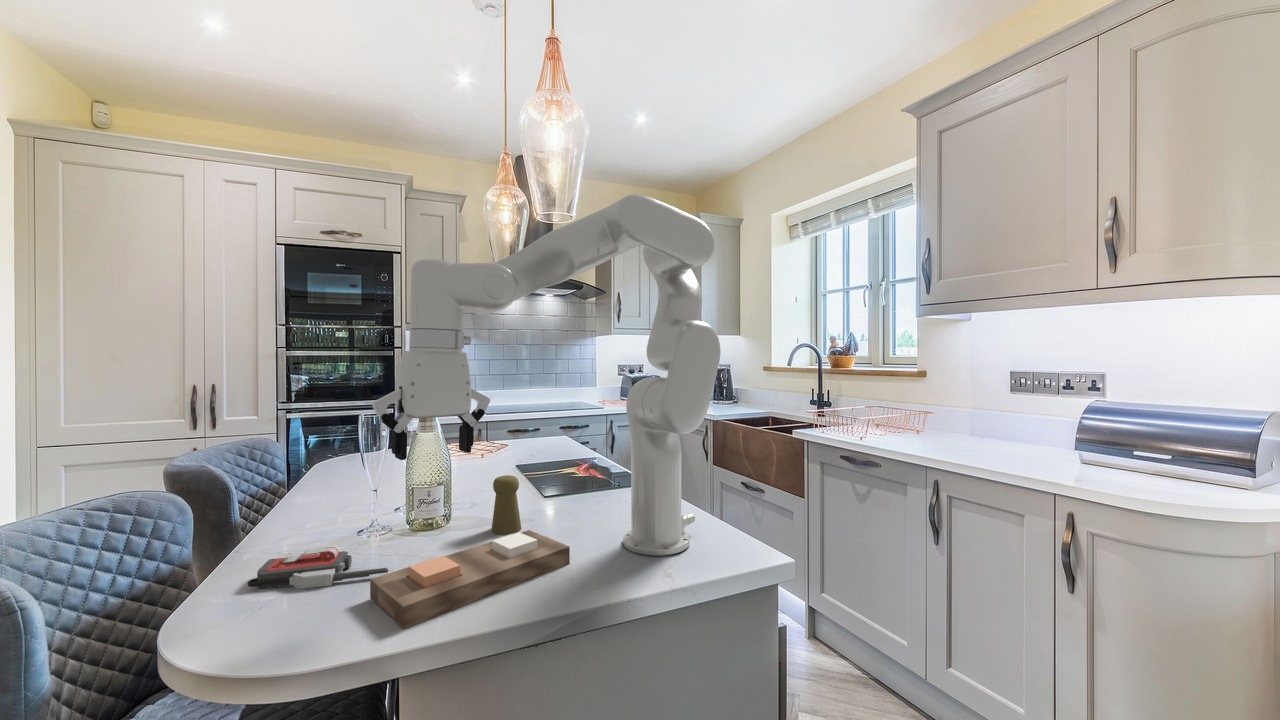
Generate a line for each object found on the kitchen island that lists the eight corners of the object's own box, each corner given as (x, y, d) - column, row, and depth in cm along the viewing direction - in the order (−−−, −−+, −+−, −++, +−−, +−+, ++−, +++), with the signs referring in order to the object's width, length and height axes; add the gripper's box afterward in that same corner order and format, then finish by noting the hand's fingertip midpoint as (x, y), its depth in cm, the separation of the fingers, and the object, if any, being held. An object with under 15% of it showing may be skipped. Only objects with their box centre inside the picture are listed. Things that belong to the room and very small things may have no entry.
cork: (484, 531, 103) (484, 478, 103) (505, 522, 109) (505, 471, 109) (507, 536, 101) (506, 481, 100) (527, 527, 106) (527, 474, 106)
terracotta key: (443, 570, 80) (443, 555, 80) (460, 581, 76) (460, 565, 76) (408, 582, 76) (408, 566, 76) (424, 593, 72) (424, 577, 72)
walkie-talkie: (240, 600, 76) (387, 581, 82) (239, 570, 76) (386, 554, 82) (264, 575, 85) (396, 560, 90) (264, 549, 84) (395, 535, 90)
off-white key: (519, 545, 90) (519, 532, 90) (537, 553, 87) (537, 539, 87) (492, 554, 86) (492, 540, 86) (510, 563, 83) (509, 548, 83)
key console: (529, 545, 96) (529, 530, 96) (569, 563, 88) (569, 546, 87) (370, 599, 75) (370, 579, 75) (403, 629, 67) (403, 606, 67)
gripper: (479, 344, 86) (477, 445, 86) (367, 340, 74) (364, 457, 74) (500, 344, 80) (498, 452, 80) (382, 339, 69) (379, 466, 69)
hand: (434, 454), depth 77 cm, fingers open, 9 cm apart
